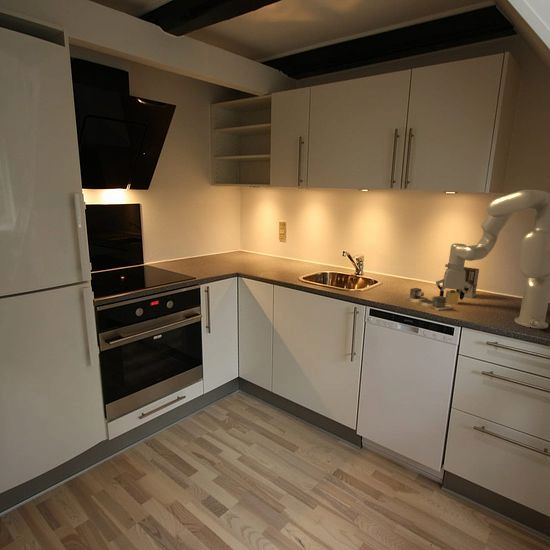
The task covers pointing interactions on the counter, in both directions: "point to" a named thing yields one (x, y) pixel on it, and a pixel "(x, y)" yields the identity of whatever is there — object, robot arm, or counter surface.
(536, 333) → the counter surface
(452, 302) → the coupling block
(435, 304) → the shaft bench
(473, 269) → the coffee box
